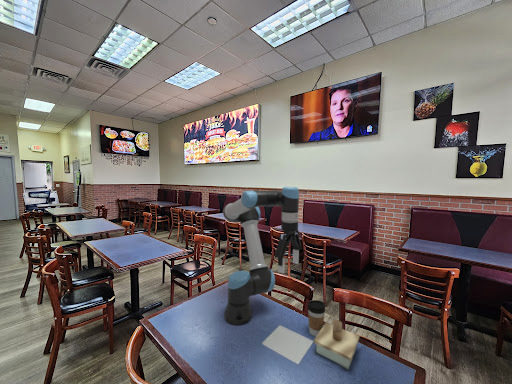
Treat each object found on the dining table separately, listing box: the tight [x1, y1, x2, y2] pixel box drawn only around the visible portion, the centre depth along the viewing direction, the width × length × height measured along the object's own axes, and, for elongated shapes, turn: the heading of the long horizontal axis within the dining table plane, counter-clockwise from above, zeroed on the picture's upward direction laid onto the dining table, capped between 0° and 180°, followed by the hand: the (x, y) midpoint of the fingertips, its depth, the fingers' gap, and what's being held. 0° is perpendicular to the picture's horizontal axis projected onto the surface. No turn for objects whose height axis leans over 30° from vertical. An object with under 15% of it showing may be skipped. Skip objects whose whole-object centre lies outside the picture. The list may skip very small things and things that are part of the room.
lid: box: [313, 319, 360, 361], centre depth 93 cm, size 15×15×8 cm
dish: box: [315, 344, 357, 371], centre depth 94 cm, size 13×13×5 cm
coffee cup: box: [306, 299, 326, 337], centre depth 105 cm, size 8×8×15 cm
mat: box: [261, 324, 314, 365], centre depth 98 cm, size 18×16×1 cm
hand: (288, 267), depth 98 cm, fingers open, 13 cm apart
